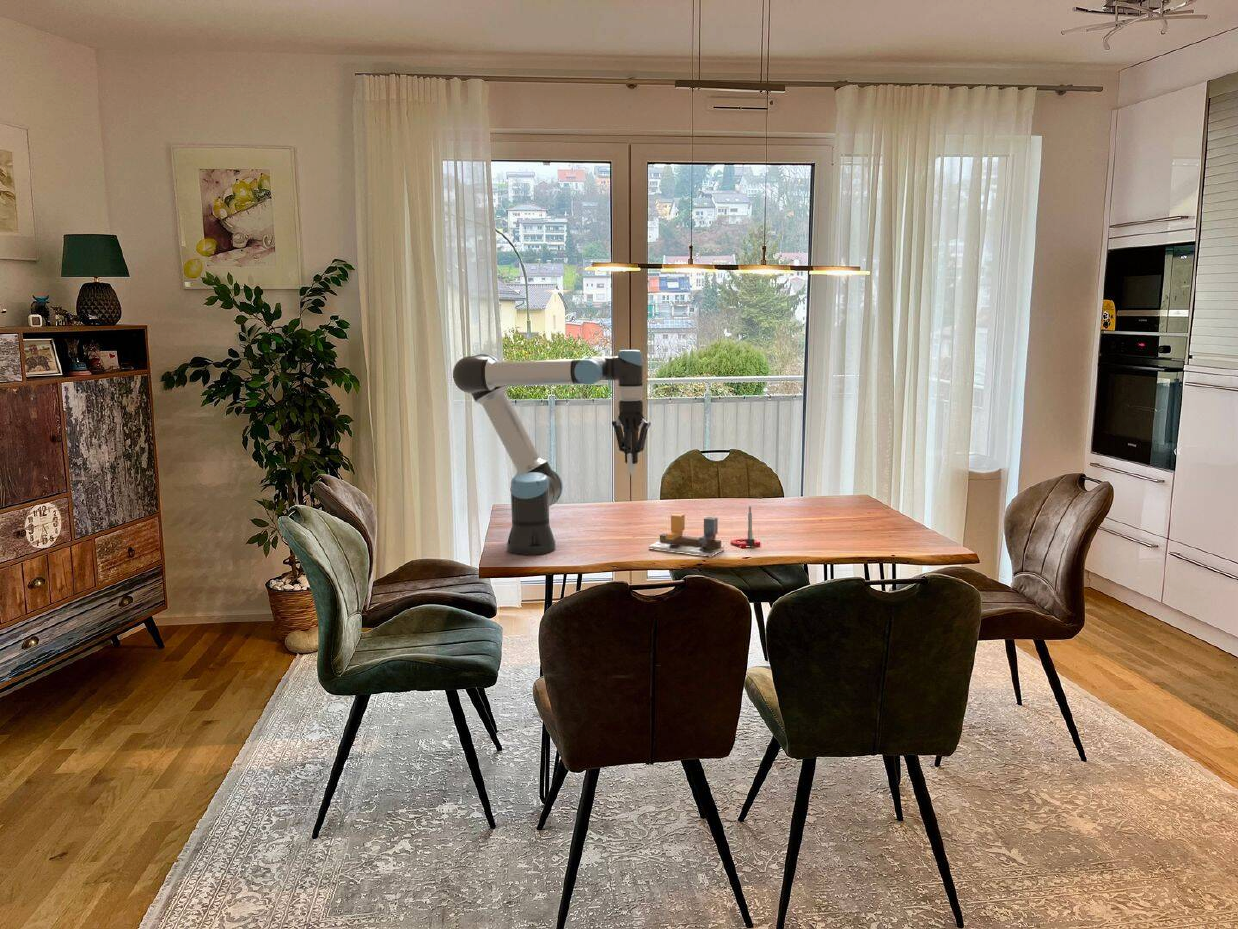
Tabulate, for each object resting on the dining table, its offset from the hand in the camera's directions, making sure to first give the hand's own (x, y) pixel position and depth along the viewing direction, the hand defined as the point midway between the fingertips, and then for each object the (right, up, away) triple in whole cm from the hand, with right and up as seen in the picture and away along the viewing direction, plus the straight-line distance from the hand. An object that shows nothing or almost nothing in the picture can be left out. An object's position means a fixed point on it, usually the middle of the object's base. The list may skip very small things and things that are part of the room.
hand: (631, 473), depth 296 cm
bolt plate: (+17, -24, -7) cm, 30 cm away
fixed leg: (+23, -22, -10) cm, 34 cm away
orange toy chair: (+14, -21, -4) cm, 26 cm away
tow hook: (+36, -23, 0) cm, 42 cm away
